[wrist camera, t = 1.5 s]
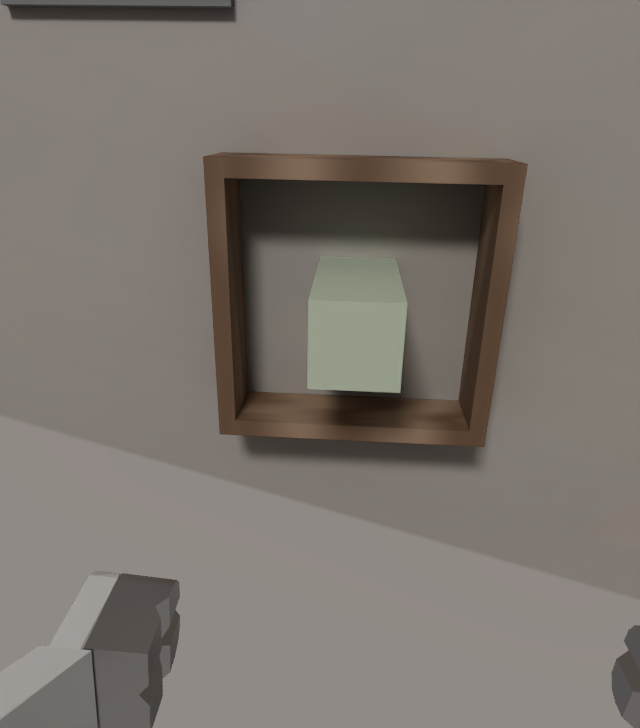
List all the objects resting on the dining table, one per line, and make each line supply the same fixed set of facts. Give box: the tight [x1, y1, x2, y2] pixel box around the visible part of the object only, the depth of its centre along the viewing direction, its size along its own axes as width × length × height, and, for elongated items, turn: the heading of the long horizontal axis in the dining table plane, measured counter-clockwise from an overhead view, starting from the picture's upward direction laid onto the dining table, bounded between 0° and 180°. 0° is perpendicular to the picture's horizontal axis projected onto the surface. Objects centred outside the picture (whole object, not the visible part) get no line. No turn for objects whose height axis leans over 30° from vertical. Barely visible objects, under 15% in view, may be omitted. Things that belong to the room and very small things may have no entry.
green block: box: [307, 257, 407, 393], centre depth 31 cm, size 4×4×9 cm
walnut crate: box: [203, 153, 528, 447], centre depth 33 cm, size 16×16×4 cm
